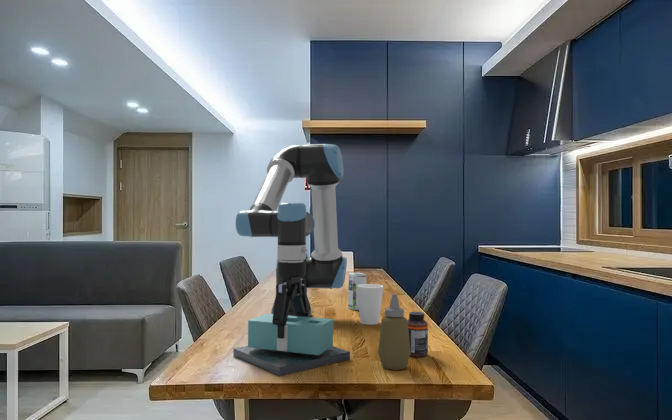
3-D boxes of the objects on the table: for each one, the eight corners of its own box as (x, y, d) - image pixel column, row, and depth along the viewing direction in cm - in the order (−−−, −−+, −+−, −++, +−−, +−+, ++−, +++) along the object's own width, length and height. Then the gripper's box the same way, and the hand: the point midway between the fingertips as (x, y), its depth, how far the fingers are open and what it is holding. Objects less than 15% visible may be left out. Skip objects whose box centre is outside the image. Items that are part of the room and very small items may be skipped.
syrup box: (347, 308, 205) (347, 272, 206) (360, 307, 208) (360, 272, 208) (353, 310, 200) (353, 274, 201) (366, 309, 203) (366, 273, 203)
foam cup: (381, 326, 171) (381, 288, 172) (354, 324, 173) (354, 287, 173) (384, 320, 181) (384, 284, 181) (358, 319, 182) (359, 283, 183)
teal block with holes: (248, 347, 131) (248, 320, 131) (266, 338, 140) (266, 313, 140) (318, 355, 124) (319, 326, 124) (332, 345, 134) (333, 319, 134)
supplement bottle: (404, 351, 139) (404, 310, 139) (426, 351, 138) (426, 310, 139) (406, 357, 133) (406, 314, 133) (429, 357, 132) (429, 315, 133)
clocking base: (233, 355, 133) (233, 325, 134) (300, 343, 148) (300, 315, 148) (279, 376, 117) (279, 341, 117) (350, 359, 131) (350, 328, 131)
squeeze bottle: (388, 373, 119) (388, 297, 119) (372, 364, 126) (372, 292, 127) (417, 369, 122) (417, 295, 122) (399, 361, 129) (400, 291, 130)
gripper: (286, 265, 121) (285, 358, 120) (320, 258, 142) (320, 337, 142) (258, 264, 123) (257, 355, 123) (296, 257, 144) (296, 334, 144)
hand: (291, 345), depth 132 cm, fingers closed on teal block with holes, 10 cm apart
